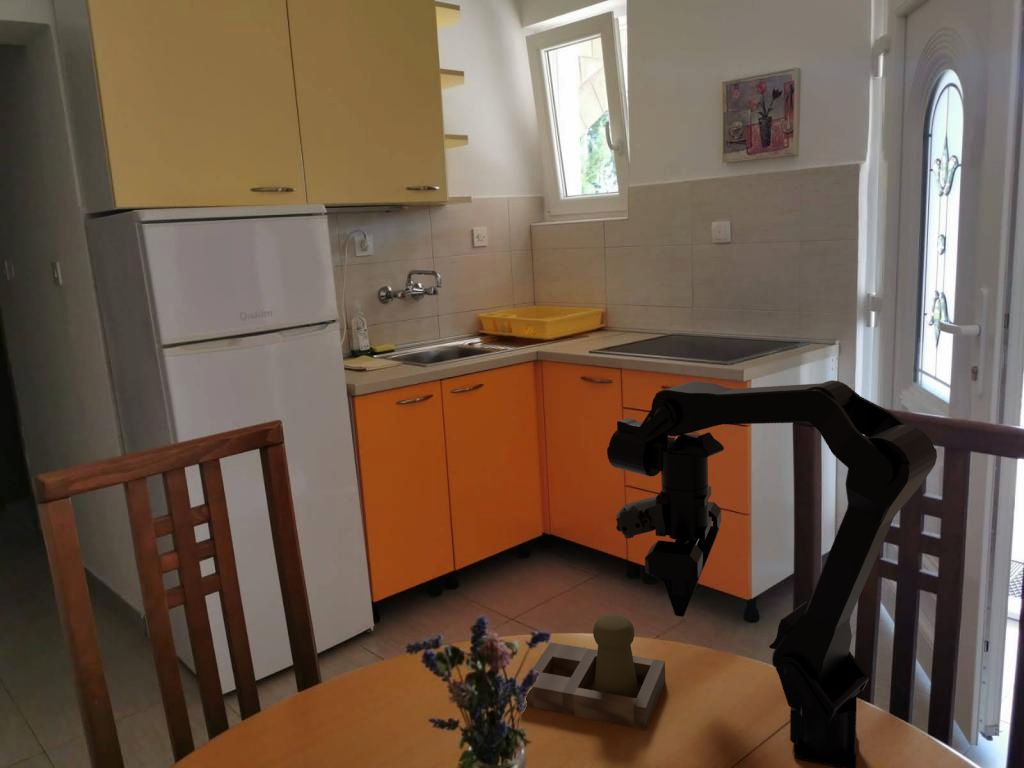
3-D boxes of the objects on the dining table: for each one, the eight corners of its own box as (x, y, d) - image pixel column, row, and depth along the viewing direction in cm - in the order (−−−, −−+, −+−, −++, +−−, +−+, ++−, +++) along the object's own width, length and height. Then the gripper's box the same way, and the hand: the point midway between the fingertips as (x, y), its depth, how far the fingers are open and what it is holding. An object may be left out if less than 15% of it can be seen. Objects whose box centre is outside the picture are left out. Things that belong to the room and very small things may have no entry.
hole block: (665, 681, 104) (664, 661, 104) (646, 730, 95) (645, 707, 94) (551, 661, 111) (550, 642, 110) (523, 705, 101) (521, 684, 101)
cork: (625, 717, 98) (622, 636, 95) (584, 702, 101) (580, 624, 99) (648, 692, 102) (645, 614, 100) (607, 678, 106) (604, 603, 104)
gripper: (639, 457, 110) (643, 561, 113) (600, 504, 93) (605, 625, 96) (721, 462, 105) (722, 570, 109) (695, 512, 89) (698, 638, 92)
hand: (686, 598), depth 101 cm, fingers open, 9 cm apart
